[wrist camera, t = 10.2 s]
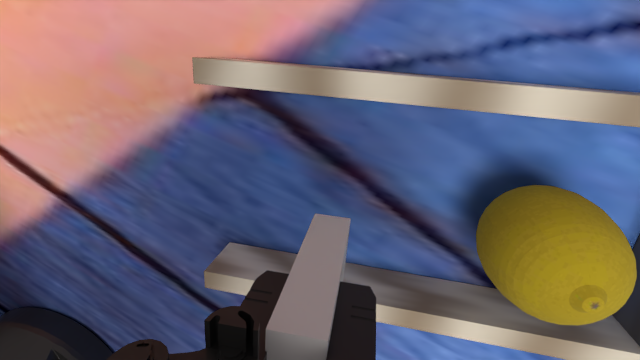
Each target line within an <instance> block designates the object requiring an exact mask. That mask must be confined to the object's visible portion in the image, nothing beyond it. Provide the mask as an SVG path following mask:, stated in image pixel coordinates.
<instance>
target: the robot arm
mask: <svg viewBox="0 0 640 360" xmlns="http://www.w3.org/2000/svg"><path fill="white" fill-rule="evenodd" d="M350 220H351V219H350V218H343V217H336V216H329V215H322V214H315V215H314V217H313V220H312V222H311V224H310V227H309V229H308V231H307V234H306V236H305V238H304V241H303V243H302V245H301V248H300V250H299V252H298V255H297V257H296V259H295V262H294V264H293V266H292V269H291V271H290V273H289V274H287V273H281V272H275V271H269V270H267V271H265V272H264V273H263V274H261V275H260V276H259V277H257V278H256V280H255V281H254V283H253V285H252V287H251V288H250V291H249V292H248V294H247V295H246V297H245V300H244V301H243V302H242V304H241V306H230V307H226V308H221V309H219V310H217V311H215V312H213V313H211V314H210V315H209V316H208V318H207V319H206V320H205V321H204V322H205V341H206V348H205V349H203V350H200V351H195V352H189V353H177V354H168V350H167V347H166V346H165V345H164V344H163V343H162V342H161V341H157V340H153V339H147V340H139V341H136V342H133V343H130V344H127V345H126V346H124V347H122V348H121V349H119V350H118V351H116V352H115V353H114V354H113V353H112V352H111V351H110V350H109V348H108V347H107V346H106V345H105V344H104V343H103V342H102V341H101V340H100V339H98V338H97V337H96V336H95V335H94V334H93V333H91V332H90V331H89V330H87V329H86V328H84V327H83V326H81V325H80V324H78V323H77V322H75V321H73V320H71V319H69V318H67V317H65V316H63V315H61V314H58V313H55V312H52V311H49V310H45V309H40V308H32V307H23V308H17V309H13V310H10V311H8V312H6V313H5V314H3V315H2V316H0V360H375V356H376V296H375V294H374V293H373V291H372V289H371V287H370V286H365V285H359V284H353V283H347V282H343V278H344V271H345V262H346V254H347V245H348V237H349V228H350Z"/></svg>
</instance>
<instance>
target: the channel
mask: <svg viewBox="0 0 640 360" xmlns="http://www.w3.org/2000/svg"><path fill="white" fill-rule="evenodd" d="M192 60H193V78H194V83H195V84H206V85H216V86H226V87H236V88H246V89H257V90H267V91H277V92H287V93H297V94H307V95H318V96H328V97H338V98H348V99H358V100H368V101H379V102H389V103H399V104H409V105H419V106H429V107H440V108H450V109H460V110H470V111H480V112H491V113H501V114H511V115H521V116H531V117H541V118H552V119H562V120H572V121H582V122H592V123H602V124H613V125H623V126H633V127H640V93H637V92H625V91H613V90H601V89H589V88H577V87H565V86H553V85H542V84H530V83H518V82H506V81H494V80H482V79H470V78H458V77H447V76H435V75H423V74H411V73H399V72H387V71H375V70H364V69H352V68H340V67H328V66H316V65H304V64H292V63H280V62H269V61H257V60H245V59H233V58H196V57H192ZM632 251H633V253H634V256H635V259H636V271H637V278H636V282H635V286H634V289H633V292H632V294H631V295H630V297H629V298H628V300H627V302H626V303H625V304H624V305H623V306H622V307H621V308H620V309H619V310H618V311H617V312H616V313H614V314H612V315H610V316H609V317H607V318H605V319H603V320H600V321H597V322H594V323H591V324H585V325H559V324H554V323H550V322H545V321H543V320H540V319H538V318H535V317H533V316H531V315H529V314H527V313H525V312H524V311H522V310H521V309H519V308H518V307H517V306H516V305H514V304H513V303H512V302H510V301H509V300H508V299H507V298H506V297H505V296H503V295H502V294H501V292H500V291H499V290H498V289H495V288H489V287H483V286H477V285H472V284H466V283H460V282H455V281H449V280H443V279H437V278H432V277H426V276H420V275H414V274H409V273H403V272H397V271H391V270H386V269H380V268H374V267H369V266H363V265H357V264H351V263H346V262H345V271H344V278H343V282H347V283H353V284H359V285H365V286H370V287H371V289H372V291H373V293H374V294H375V296H376V322H381V323H386V324H391V325H396V326H401V327H406V328H411V329H416V330H421V331H426V332H431V333H436V334H441V335H446V336H451V337H456V338H461V339H466V340H472V341H477V342H482V343H487V344H492V345H497V346H502V347H507V348H512V349H517V350H522V351H527V352H532V353H537V354H542V355H547V356H552V357H557V358H562V359H567V360H640V235H639V237H638V239H637V242H636V244H635V246H634V248H633V250H632ZM297 255H298V254H294V253H288V252H283V251H277V250H271V249H265V248H260V247H254V246H248V245H242V244H237V243H231V242H229V243H228V245H227V246H226V247H225V248H224V249H223V250H222V251H221V253H220V254H219V255H218V256H217V257H216V258H215V259H214V260H213V262H212V263H211V264H210V265H209V266H208V267H207V268H206V270H205V271H204V278H205V288H210V289H215V290H220V291H225V292H230V293H235V294H240V295H245V296H246V295H247V294H248V292H249V291H250V288H251V287H252V285H253V283H254V281H255V280H256V278H257V277H259V276H260V275H261V274H263V273H264V272H265V271H267V270H269V271H275V272H281V273H287V274H289V273H290V271H291V269H292V266H293V264H294V262H295V259H296V257H297Z"/></svg>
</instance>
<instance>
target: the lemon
mask: <svg viewBox="0 0 640 360" xmlns="http://www.w3.org/2000/svg"><path fill="white" fill-rule="evenodd" d="M476 244H477V252H478V255H479V258H480V261H481V263H482V266H483V269H484V271H485V272H486V274H487V276H488V277H489V278H490V280H491V281H492V282H493V284H494V285H495V286H496V288H497V289H498V290H499V291H500V292H501V294H502V295H503V296H505V297H506V298H507V299H508V300H509V301H510V302H512V303H513V304H514V305H516V306H517V307H518V308H519V309H521V310H522V311H524V312H525V313H527V314H529V315H531V316H533V317H535V318H538V319H540V320H543V321H545V322H550V323H554V324H559V325H585V324H591V323H594V322H597V321H600V320H603V319H605V318H607V317H609V316H610V315H612V314H614V313H616V312H617V311H618V310H619V309H620V308H621V307H622V306H623V305H624V304H625V303H626V302H627V300H628V298H629V297H630V295H631V294H632V292H633V289H634V286H635V282H636V278H637V271H636V259H635V256H634V253H633V251H632V249H631V247H630V244H629V242H628V240H627V238H626V236H625V235H624V233H623V232H622V230H621V229H620V228H619V227H618V226H617V224H616V223H615V222H614V221H613V220H612V219H611V218H610V217H609V216H608V215H607V214H606V213H605V212H604V211H603V210H602V209H601V208H600V207H598V206H597V205H595V204H594V203H592V202H590V201H589V200H587V199H585V198H584V197H582V196H581V195H579V194H577V193H574V192H571V191H568V190H565V189H561V188H558V187H554V186H545V185H530V186H523V187H518V188H515V189H512V190H510V191H507V192H505V193H503V194H502V195H500V196H499V197H497V198H495V199H494V200H493V201H492V202H491V203H490V204H489V205H488V206H487V207H486V209H485V210H484V212H483V214H482V216H481V217H480V219H479V223H478V227H477V231H476Z"/></svg>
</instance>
